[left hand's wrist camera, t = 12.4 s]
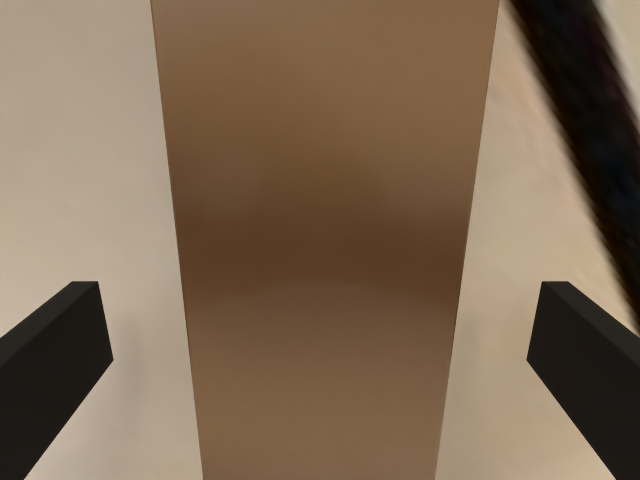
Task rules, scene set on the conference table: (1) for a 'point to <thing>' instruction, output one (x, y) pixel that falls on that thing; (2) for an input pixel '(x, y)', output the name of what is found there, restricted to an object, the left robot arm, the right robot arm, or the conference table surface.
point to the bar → (322, 223)
